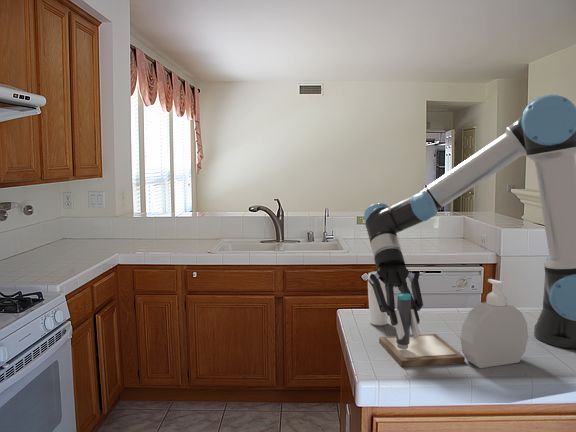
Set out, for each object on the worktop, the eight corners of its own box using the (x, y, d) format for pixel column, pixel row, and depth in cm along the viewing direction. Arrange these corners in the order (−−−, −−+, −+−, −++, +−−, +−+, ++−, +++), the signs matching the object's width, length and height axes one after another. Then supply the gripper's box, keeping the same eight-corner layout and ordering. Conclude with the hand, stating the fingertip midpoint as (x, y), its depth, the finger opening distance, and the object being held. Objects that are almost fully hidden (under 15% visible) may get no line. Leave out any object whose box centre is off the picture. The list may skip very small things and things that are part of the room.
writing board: (435, 339, 140) (435, 333, 139) (464, 362, 124) (464, 356, 124) (378, 342, 137) (379, 336, 137) (401, 366, 121) (401, 360, 121)
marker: (406, 344, 129) (408, 292, 128) (411, 349, 126) (413, 296, 124) (394, 345, 129) (395, 292, 127) (398, 349, 126) (400, 296, 124)
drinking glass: (390, 327, 149) (391, 277, 147) (366, 326, 150) (367, 275, 148) (390, 320, 155) (391, 271, 153) (367, 318, 157) (368, 270, 155)
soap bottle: (511, 353, 130) (516, 276, 127) (527, 361, 125) (532, 281, 122) (457, 361, 125) (461, 281, 123) (471, 370, 120) (475, 286, 118)
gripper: (412, 261, 141) (436, 341, 127) (355, 263, 139) (373, 344, 125) (420, 246, 135) (446, 328, 121) (361, 247, 133) (380, 331, 119)
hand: (409, 336), depth 123 cm, fingers closed on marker, 3 cm apart
